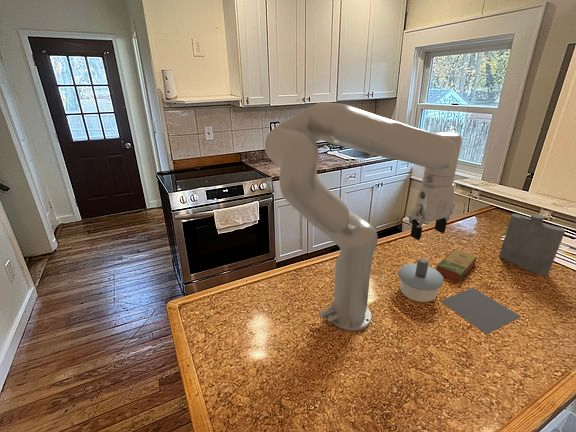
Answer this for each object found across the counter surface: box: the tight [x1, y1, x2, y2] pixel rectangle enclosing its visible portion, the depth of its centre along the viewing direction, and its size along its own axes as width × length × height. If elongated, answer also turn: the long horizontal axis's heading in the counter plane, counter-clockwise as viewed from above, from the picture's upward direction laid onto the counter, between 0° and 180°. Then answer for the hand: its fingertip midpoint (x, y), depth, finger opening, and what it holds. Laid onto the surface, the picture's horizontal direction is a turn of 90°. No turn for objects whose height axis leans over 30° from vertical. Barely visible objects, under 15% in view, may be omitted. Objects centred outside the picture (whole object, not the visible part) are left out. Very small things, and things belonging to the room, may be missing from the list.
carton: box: [435, 248, 477, 283], centre depth 109 cm, size 8×16×4 cm, turn 133°
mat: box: [440, 287, 522, 335], centre depth 90 cm, size 15×15×1 cm
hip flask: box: [499, 213, 566, 277], centre depth 107 cm, size 16×4×20 cm, turn 29°
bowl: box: [399, 279, 439, 303], centre depth 97 cm, size 11×11×6 cm
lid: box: [398, 258, 444, 291], centre depth 95 cm, size 13×13×6 cm
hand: (427, 234), depth 90 cm, fingers open, 9 cm apart
